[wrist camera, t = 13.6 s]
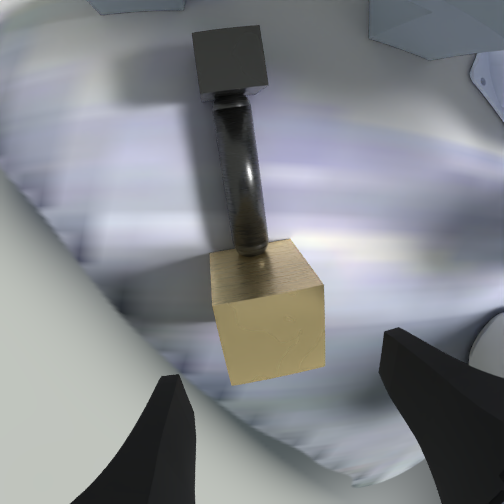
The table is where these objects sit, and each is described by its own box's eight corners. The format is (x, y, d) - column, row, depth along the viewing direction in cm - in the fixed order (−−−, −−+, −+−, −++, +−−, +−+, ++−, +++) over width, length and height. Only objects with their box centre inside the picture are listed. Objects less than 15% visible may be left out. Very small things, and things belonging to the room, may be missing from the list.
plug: (176, 56, 12) (163, 21, 7) (265, 44, 12) (293, 8, 8) (223, 321, 17) (231, 385, 13) (296, 307, 18) (325, 366, 13)
